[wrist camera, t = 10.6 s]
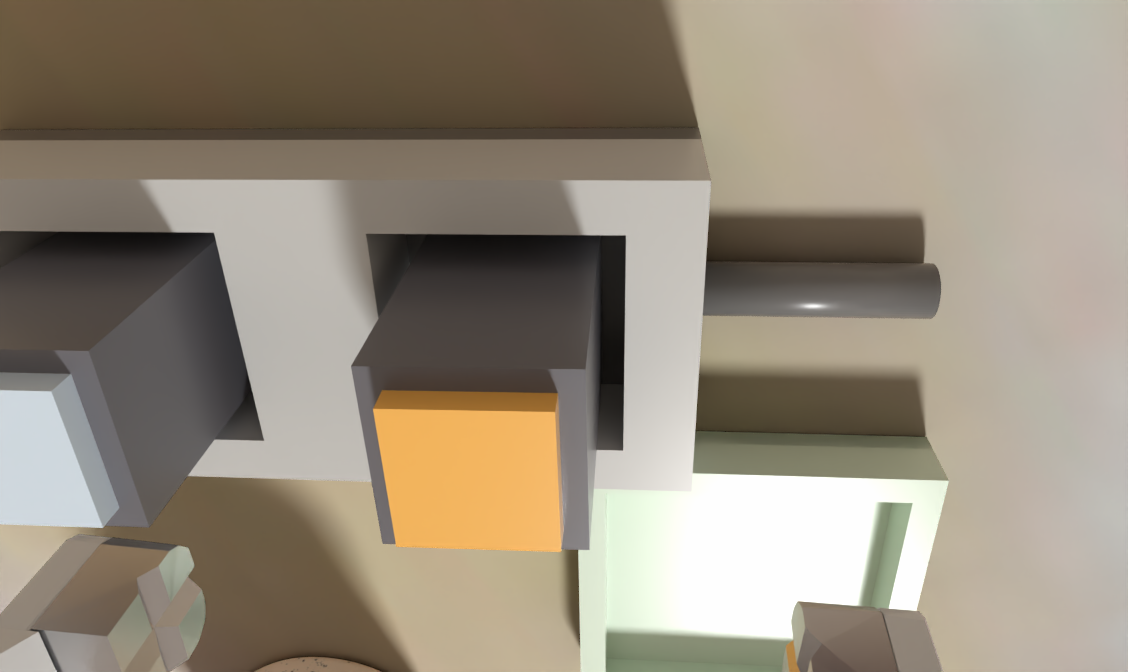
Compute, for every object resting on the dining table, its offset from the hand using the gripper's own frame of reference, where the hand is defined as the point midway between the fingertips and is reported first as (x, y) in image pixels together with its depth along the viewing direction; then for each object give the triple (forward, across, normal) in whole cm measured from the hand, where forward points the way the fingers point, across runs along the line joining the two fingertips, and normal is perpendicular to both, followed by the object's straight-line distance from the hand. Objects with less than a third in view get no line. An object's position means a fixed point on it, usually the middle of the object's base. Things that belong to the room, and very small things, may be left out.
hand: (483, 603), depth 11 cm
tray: (+12, -5, +11) cm, 18 cm away
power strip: (+12, +3, +1) cm, 13 cm away
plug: (+12, +1, +1) cm, 12 cm away
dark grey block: (+11, +10, +2) cm, 15 cm away
